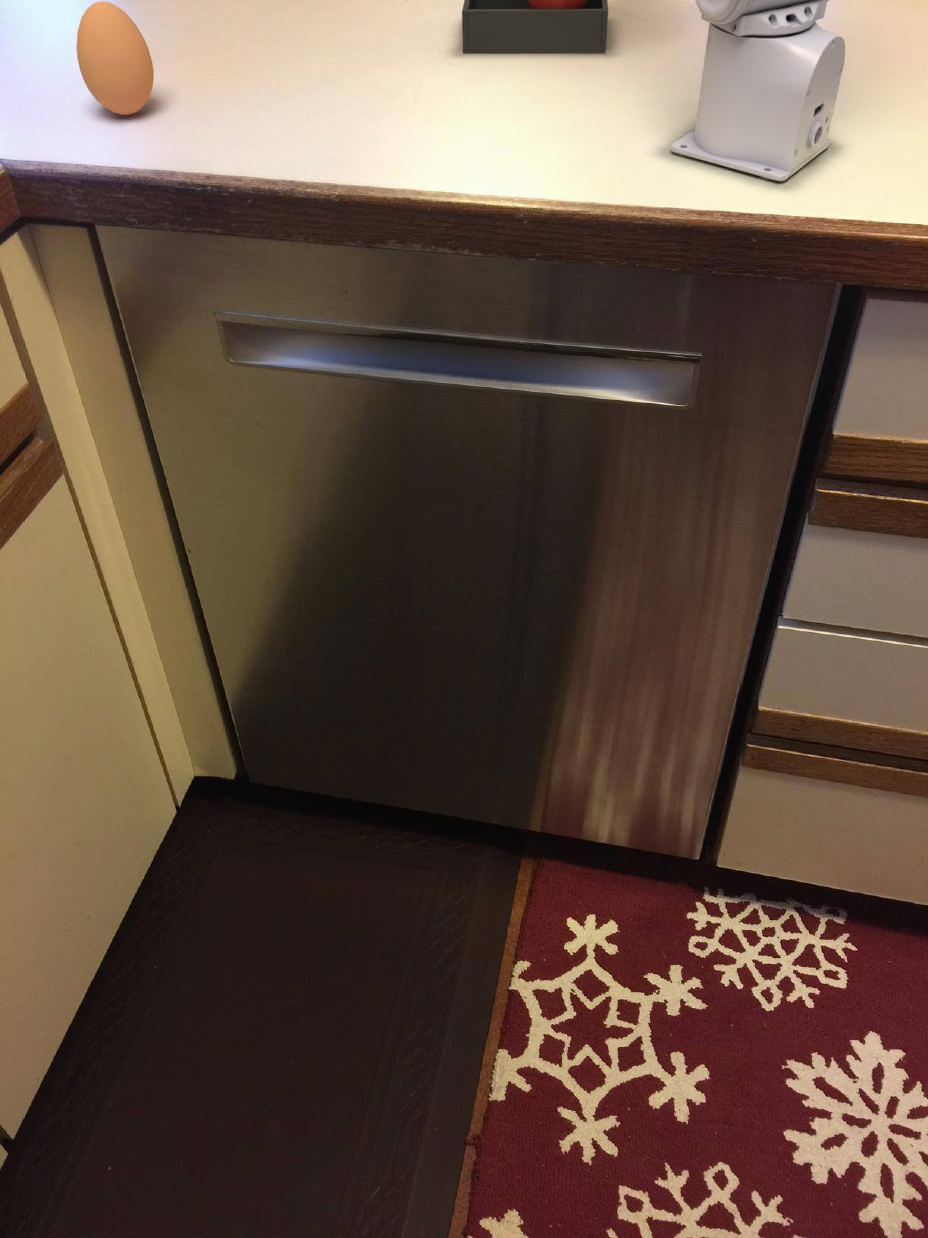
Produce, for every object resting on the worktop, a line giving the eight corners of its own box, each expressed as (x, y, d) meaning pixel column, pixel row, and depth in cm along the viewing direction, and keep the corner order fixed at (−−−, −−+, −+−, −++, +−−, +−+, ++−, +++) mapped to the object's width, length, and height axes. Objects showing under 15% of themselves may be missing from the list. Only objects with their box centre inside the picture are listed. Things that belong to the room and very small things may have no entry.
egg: (83, 110, 87) (52, 0, 81) (147, 94, 89) (122, -15, 83) (107, 132, 84) (76, 18, 78) (173, 115, 86) (148, 3, 80)
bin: (603, 21, 99) (606, -20, 97) (605, 52, 93) (608, 10, 91) (469, 22, 100) (468, -19, 98) (462, 53, 94) (461, 10, 92)
